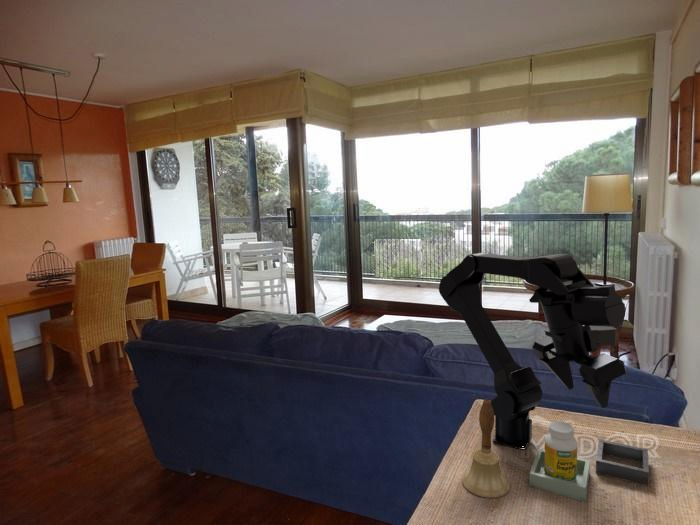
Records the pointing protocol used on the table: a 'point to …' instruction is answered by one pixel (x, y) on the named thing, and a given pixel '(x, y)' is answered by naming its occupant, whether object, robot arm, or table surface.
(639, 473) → the collar
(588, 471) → the tray
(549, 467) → the supplement bottle
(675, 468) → the table surface
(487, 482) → the hand bell
